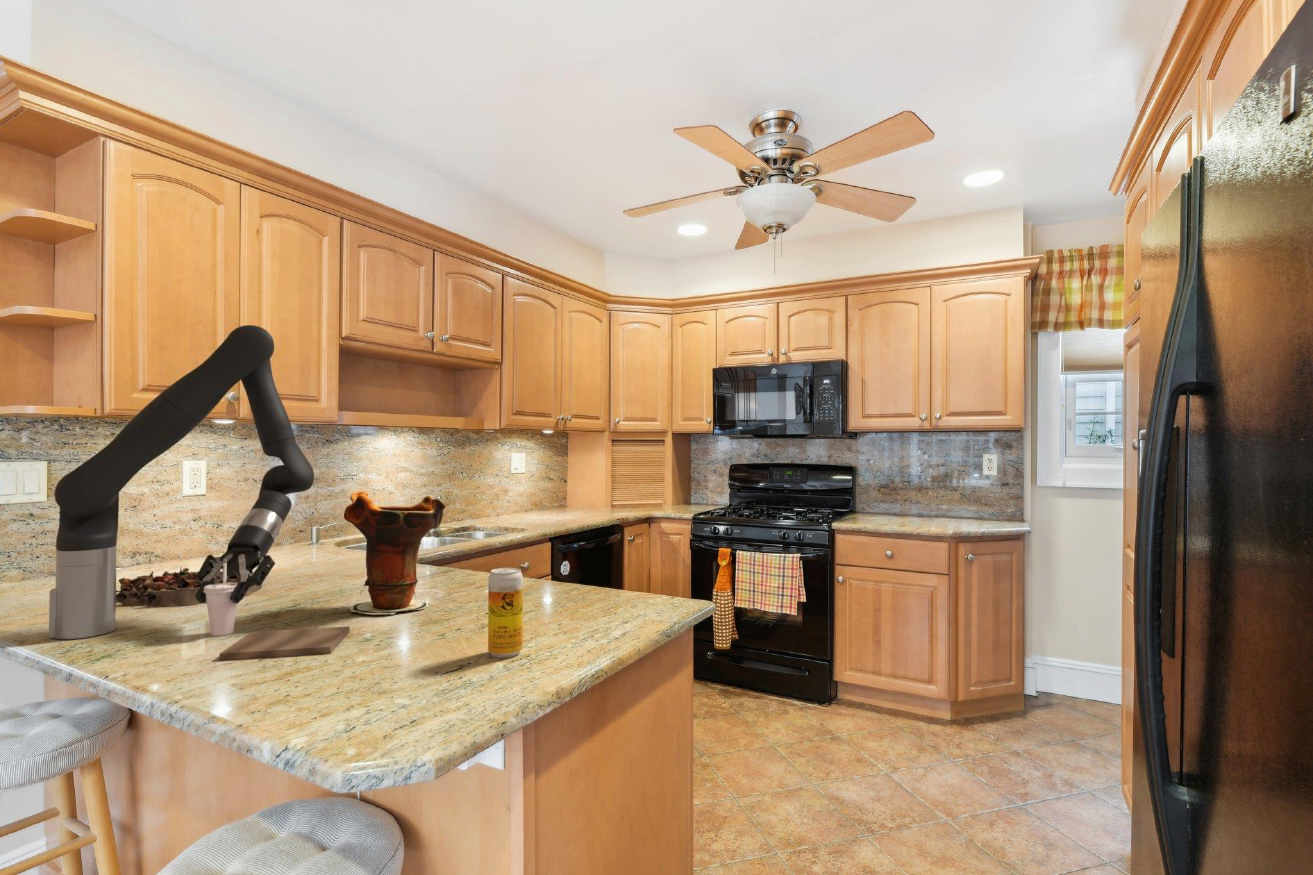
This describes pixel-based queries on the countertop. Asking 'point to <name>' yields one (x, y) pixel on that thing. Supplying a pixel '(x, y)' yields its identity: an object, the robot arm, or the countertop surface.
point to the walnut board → (286, 643)
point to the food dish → (166, 589)
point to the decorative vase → (392, 550)
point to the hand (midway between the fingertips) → (216, 600)
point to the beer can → (505, 612)
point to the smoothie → (221, 606)
